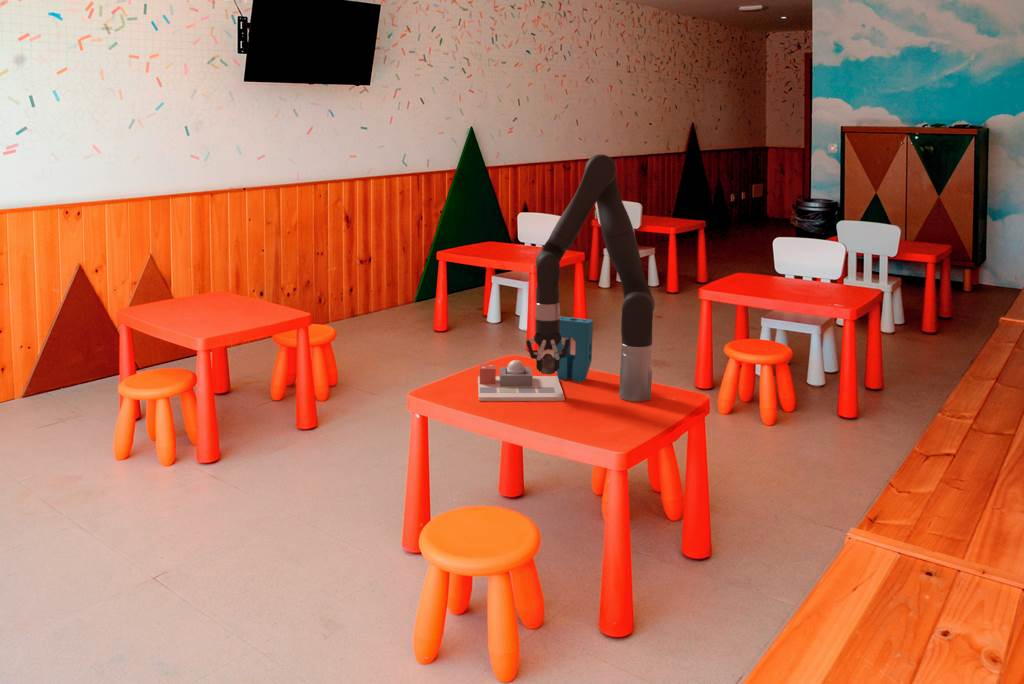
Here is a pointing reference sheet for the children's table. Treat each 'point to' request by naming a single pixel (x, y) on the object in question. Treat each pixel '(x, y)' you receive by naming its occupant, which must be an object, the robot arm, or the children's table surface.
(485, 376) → the die
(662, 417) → the children's table surface
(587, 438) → the children's table surface
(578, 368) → the block
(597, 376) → the children's table surface
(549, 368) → the pawn
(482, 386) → the game board
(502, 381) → the dome housing
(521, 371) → the dome
